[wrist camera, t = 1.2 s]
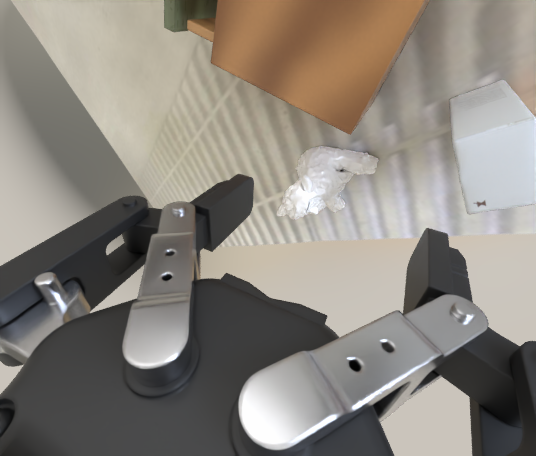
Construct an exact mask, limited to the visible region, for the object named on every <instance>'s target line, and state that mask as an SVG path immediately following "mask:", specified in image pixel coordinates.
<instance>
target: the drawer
mask: <svg viewBox="0 0 536 456" xmlns="http://www.w3.org/2000/svg"><path fill="white" fill-rule="evenodd" d="M217 2H218V0H164V27H165V28H166V29H168V30H170V31H172V32H180V31H188V30H189V31H191V32H193V33H195V34H197V35H199V36H201V37H203V38H205V39H207V40H209V41H211V42H213V38H214V29H215V20H216V11H217Z"/></svg>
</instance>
